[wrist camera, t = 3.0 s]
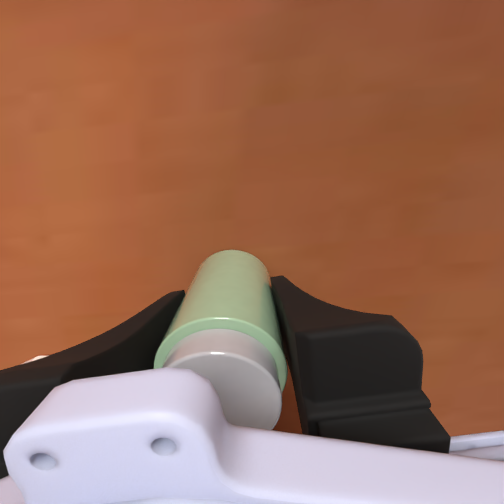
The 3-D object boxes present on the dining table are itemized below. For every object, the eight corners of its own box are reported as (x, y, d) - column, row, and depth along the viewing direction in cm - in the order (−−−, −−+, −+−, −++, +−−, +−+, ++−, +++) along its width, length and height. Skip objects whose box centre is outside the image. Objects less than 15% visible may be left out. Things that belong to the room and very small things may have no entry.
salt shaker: (275, 313, 15) (301, 451, 7) (203, 323, 15) (161, 468, 8) (265, 243, 13) (284, 332, 6) (186, 255, 13) (116, 355, 6)
